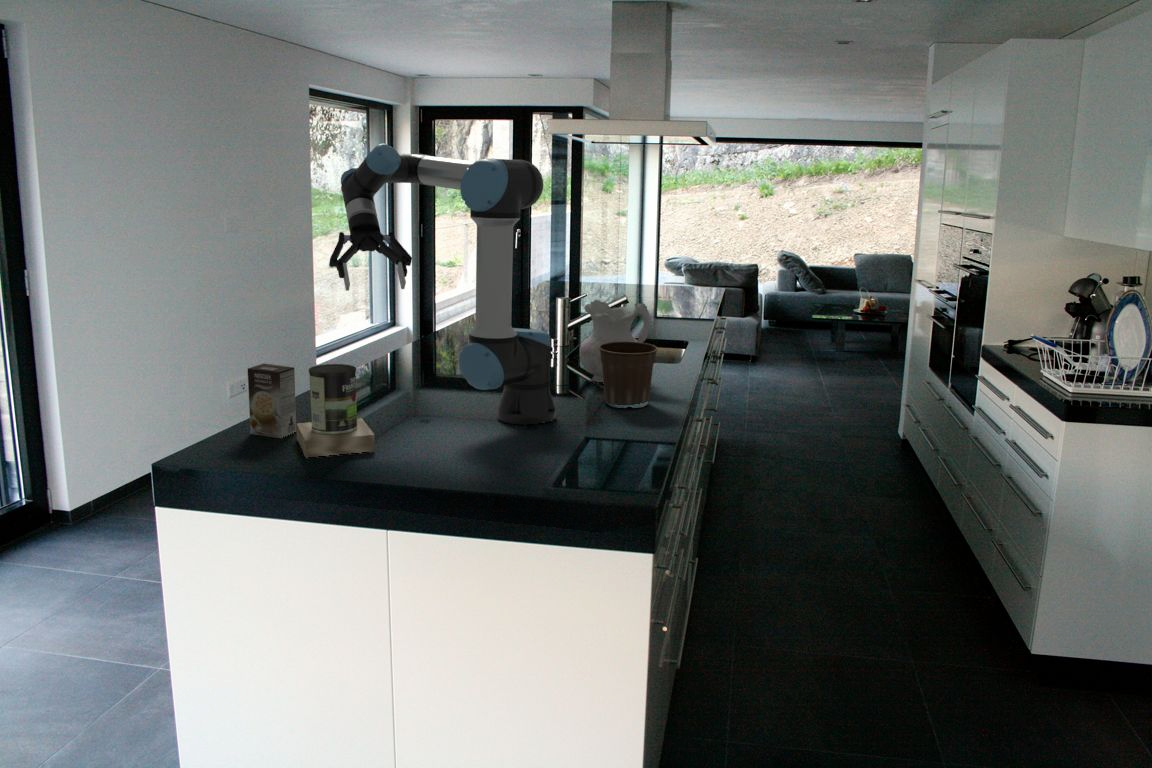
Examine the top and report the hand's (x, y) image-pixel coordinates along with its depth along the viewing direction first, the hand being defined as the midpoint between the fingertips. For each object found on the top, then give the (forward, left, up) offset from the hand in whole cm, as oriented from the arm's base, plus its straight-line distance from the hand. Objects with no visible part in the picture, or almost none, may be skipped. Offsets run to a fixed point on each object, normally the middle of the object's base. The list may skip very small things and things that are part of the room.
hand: (376, 286), depth 232 cm
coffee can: (+14, +19, -30) cm, 38 cm away
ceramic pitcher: (-76, -22, -34) cm, 86 cm away
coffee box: (+26, +5, -34) cm, 43 cm away
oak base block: (+14, +20, -34) cm, 41 cm away
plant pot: (-67, +5, -34) cm, 75 cm away
